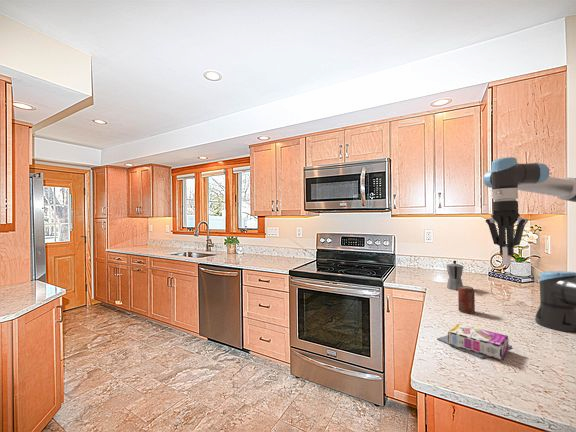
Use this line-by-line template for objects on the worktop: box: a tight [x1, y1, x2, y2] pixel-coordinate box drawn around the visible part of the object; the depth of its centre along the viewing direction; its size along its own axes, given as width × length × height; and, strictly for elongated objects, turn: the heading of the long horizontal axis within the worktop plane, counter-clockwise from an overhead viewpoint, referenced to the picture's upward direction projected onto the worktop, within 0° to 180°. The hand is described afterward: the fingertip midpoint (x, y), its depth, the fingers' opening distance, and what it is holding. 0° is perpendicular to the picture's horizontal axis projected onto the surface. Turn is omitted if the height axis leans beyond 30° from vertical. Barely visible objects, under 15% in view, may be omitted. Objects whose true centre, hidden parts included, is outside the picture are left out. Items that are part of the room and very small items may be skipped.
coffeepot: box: [446, 260, 464, 291], centre depth 185 cm, size 15×9×18 cm, turn 153°
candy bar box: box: [447, 323, 509, 360], centre depth 104 cm, size 11×5×16 cm
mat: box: [436, 334, 513, 359], centre depth 108 cm, size 18×16×1 cm
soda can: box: [457, 285, 476, 315], centre depth 143 cm, size 7×7×12 cm
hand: (507, 264), depth 107 cm, fingers closed
